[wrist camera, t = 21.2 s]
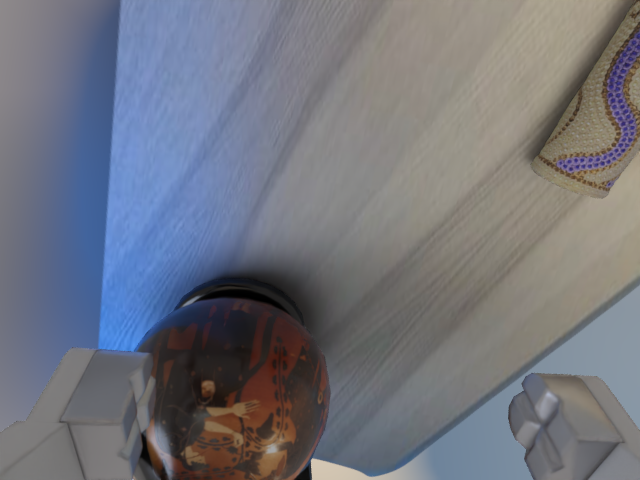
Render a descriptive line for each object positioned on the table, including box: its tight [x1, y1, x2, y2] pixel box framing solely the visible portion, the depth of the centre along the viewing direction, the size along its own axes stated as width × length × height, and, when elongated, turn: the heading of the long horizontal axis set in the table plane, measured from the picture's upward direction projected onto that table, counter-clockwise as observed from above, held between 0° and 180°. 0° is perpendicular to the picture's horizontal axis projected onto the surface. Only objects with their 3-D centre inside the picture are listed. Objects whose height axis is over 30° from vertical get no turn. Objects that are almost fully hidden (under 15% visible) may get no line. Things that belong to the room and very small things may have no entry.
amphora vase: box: [133, 278, 331, 480], centre depth 43 cm, size 22×22×28 cm
